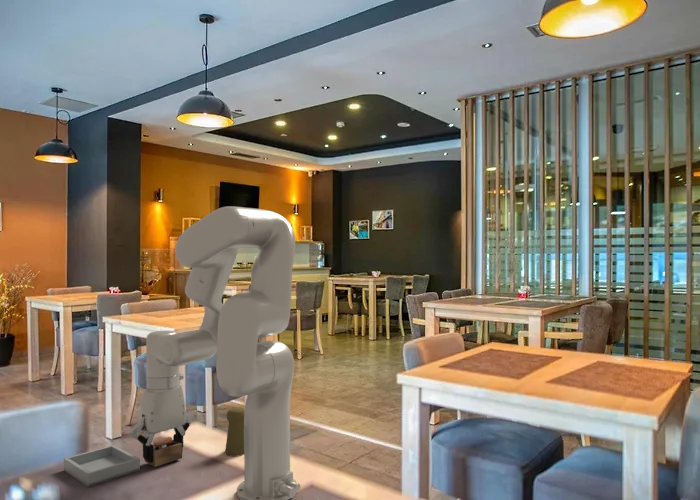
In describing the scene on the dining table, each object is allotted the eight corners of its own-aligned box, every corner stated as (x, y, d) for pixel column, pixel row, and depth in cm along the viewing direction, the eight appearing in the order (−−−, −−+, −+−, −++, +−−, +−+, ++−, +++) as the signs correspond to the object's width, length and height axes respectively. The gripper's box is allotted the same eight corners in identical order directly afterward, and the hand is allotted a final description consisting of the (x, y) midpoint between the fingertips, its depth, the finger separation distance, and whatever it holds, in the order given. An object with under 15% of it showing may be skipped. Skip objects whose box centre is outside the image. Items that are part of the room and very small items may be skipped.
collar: (171, 453, 133) (171, 436, 133) (182, 458, 129) (181, 440, 129) (145, 461, 127) (144, 443, 127) (155, 466, 124) (155, 448, 124)
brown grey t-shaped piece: (172, 460, 129) (172, 438, 129) (156, 465, 126) (156, 442, 126) (168, 458, 131) (168, 436, 131) (152, 463, 127) (152, 441, 128)
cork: (235, 457, 131) (235, 413, 131) (220, 452, 135) (219, 408, 135) (254, 450, 136) (254, 407, 136) (238, 445, 139) (238, 403, 139)
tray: (139, 470, 123) (139, 458, 123) (88, 487, 115) (88, 474, 115) (113, 456, 132) (113, 444, 132) (63, 470, 124) (63, 458, 124)
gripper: (186, 374, 138) (187, 443, 137) (120, 387, 125) (121, 463, 124) (203, 378, 133) (203, 449, 132) (135, 392, 120) (136, 471, 119)
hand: (163, 455), depth 128 cm, fingers closed on collar, 7 cm apart
